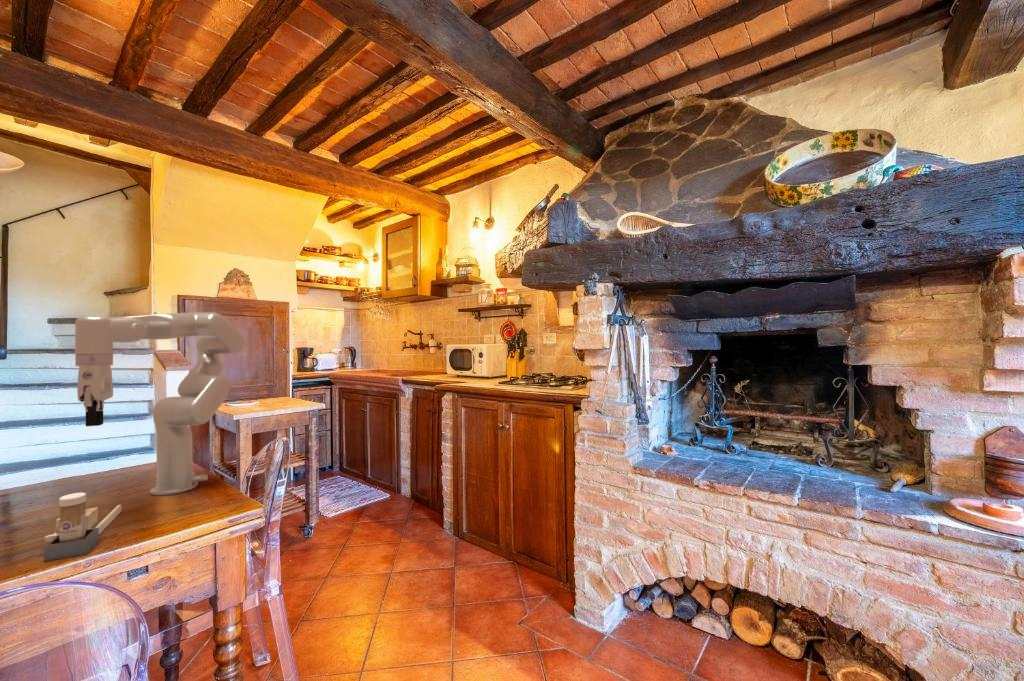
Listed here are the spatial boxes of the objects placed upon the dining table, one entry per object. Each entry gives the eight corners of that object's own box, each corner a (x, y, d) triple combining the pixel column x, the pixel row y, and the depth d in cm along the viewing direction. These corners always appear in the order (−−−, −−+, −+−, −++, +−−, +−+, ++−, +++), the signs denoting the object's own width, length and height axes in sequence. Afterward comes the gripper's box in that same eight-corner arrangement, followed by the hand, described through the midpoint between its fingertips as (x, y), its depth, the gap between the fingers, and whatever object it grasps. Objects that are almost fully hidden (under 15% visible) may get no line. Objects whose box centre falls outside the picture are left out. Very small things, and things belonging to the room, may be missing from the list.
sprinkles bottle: (55, 557, 97) (55, 500, 97) (63, 548, 101) (63, 493, 101) (82, 552, 100) (81, 496, 100) (89, 544, 104) (89, 490, 104)
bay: (121, 511, 124) (121, 501, 124) (92, 541, 105) (92, 529, 105) (81, 517, 119) (81, 506, 119) (44, 549, 101) (44, 537, 101)
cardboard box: (98, 529, 111) (98, 507, 111) (88, 538, 106) (88, 515, 106) (66, 534, 108) (66, 511, 108) (55, 544, 103) (55, 520, 103)
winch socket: (98, 541, 105) (98, 527, 105) (86, 553, 99) (86, 539, 99) (58, 548, 102) (58, 533, 102) (43, 561, 95) (43, 546, 95)
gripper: (102, 361, 112) (102, 429, 112) (121, 359, 125) (121, 419, 125) (63, 362, 109) (63, 431, 109) (87, 359, 122) (87, 422, 122)
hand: (94, 425), depth 117 cm, fingers closed
